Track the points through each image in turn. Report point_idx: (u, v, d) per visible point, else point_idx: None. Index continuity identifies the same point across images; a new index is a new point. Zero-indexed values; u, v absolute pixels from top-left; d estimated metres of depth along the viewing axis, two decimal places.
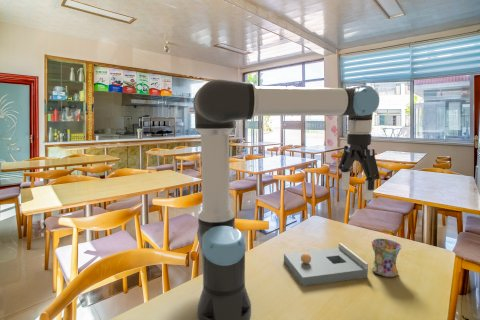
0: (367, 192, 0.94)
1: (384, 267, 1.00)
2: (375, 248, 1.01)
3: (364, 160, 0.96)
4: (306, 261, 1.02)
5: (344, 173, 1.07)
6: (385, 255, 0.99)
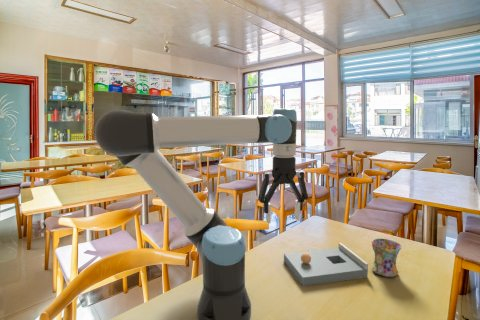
0: (266, 214, 0.99)
1: (384, 267, 1.00)
2: (375, 248, 1.01)
3: (273, 183, 0.97)
4: (306, 261, 1.02)
5: (295, 201, 1.00)
6: (385, 255, 0.99)
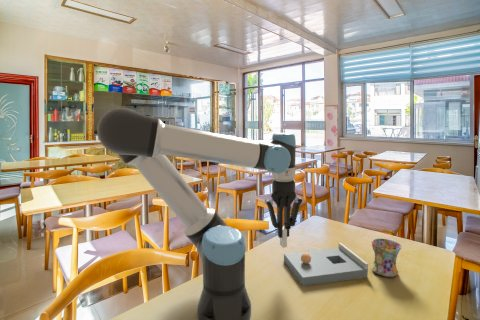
0: (280, 238, 1.01)
1: (384, 267, 1.00)
2: (375, 248, 1.01)
3: (278, 208, 0.99)
4: (306, 261, 1.02)
5: None
6: (385, 255, 0.99)
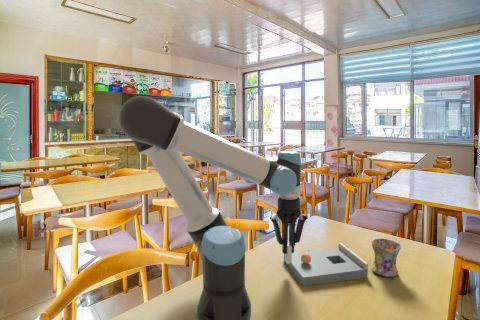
0: (285, 254, 1.02)
1: (384, 267, 1.00)
2: (375, 248, 1.01)
3: (283, 224, 1.00)
4: (306, 261, 1.02)
5: None
6: (385, 255, 0.99)
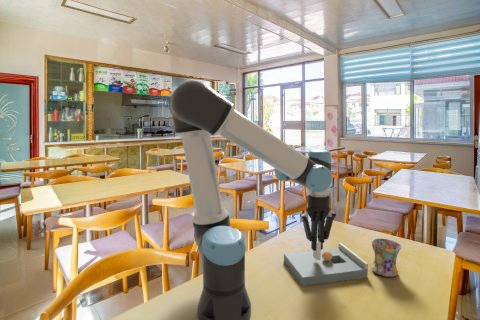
0: (314, 251, 1.05)
1: (384, 267, 1.00)
2: (375, 248, 1.01)
3: (312, 222, 1.02)
4: (330, 259, 1.04)
5: None
6: (385, 255, 0.99)
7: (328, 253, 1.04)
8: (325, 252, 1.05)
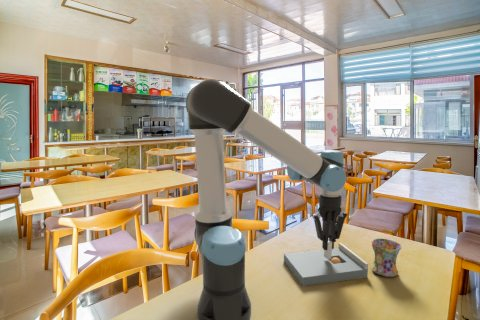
0: (325, 250, 1.06)
1: (384, 267, 1.00)
2: (375, 248, 1.01)
3: (323, 221, 1.03)
4: None
5: None
6: (385, 255, 0.99)
7: None
8: None
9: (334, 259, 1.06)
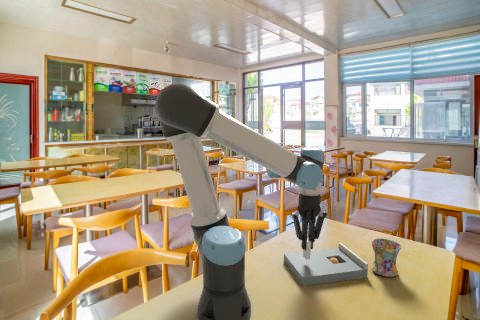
0: (304, 250, 1.04)
1: (384, 267, 1.00)
2: (375, 248, 1.01)
3: (303, 221, 1.02)
4: None
5: None
6: (385, 255, 0.99)
7: None
8: None
9: None
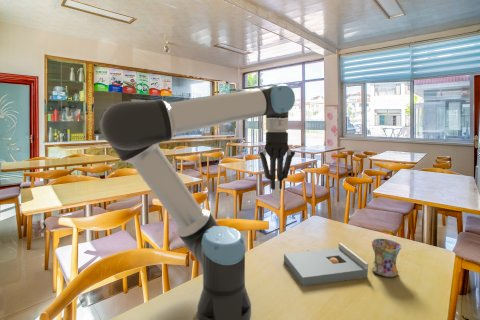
0: (273, 191, 1.03)
1: (384, 267, 1.00)
2: (375, 248, 1.01)
3: (271, 160, 1.01)
4: None
5: None
6: (385, 255, 0.99)
7: None
8: None
9: (331, 261, 1.06)
